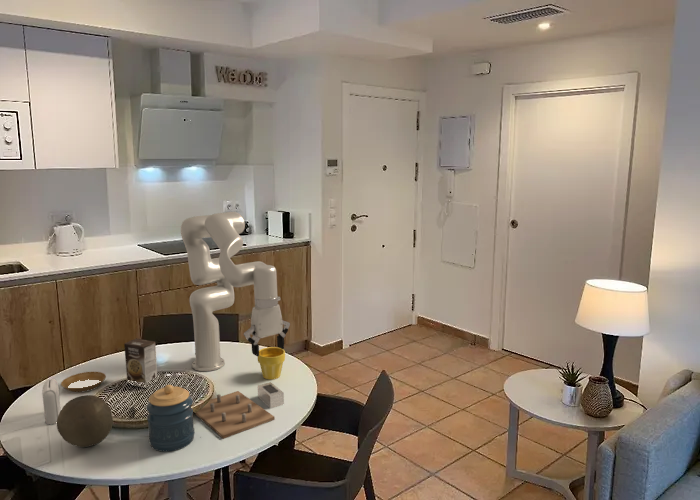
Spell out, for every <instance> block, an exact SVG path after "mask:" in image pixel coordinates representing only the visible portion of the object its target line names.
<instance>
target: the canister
mask: <svg viewBox="0 0 700 500" xmlns="http://www.w3.org/2000/svg"><path fill="white" fill-rule="evenodd" d="M148 402H149V403H148V404H147V406H146V409H147V411H148V412H149V414H148V416H146V420H147V423H148V425H147V426H148V427H147V428H148V442H149V446H150V447H151V448H152V449H153V450H156V451H158V452H173V451H177V450H180V449H183V448H185V447H186V446H187V447H188V445H190V444H191V443H193V440H194V438H195V434H196V433H195V426H194V413H193V409H192V408H191V406H193V402H194V401H193V398H192V397H191V396H190V392H189V391H188V390H187V389H186V388H183V387H181V386H173V385H172V384H166V385H165V386H164V387H161V388H159V389H157V390H155V392H153V393H151V395H150V396H149V397H148Z"/></svg>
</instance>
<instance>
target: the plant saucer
mask: <svg viewBox="0 0 700 500" xmlns="http://www.w3.org/2000/svg"><path fill="white" fill-rule="evenodd" d="M106 378H107V375H106V373H104V372H101V371H83V372H79V373H75V374H72V375H70V376H67V377H65V378H64V379H63V380H62V381H61V383H60V386H61V387H63V388H64V389H65V390H66V391H69V392H71V393H83V392H82V391H85V392H88V391H87V390H89V391H92V390H95V389H97V388H98V387H99V386H100V385H102V384H103V382H104V381H105V379H106ZM88 379H89V380H99V381H101V382H99V383H97V384H95V385H92V386H88V387H83V388H68V386H69V385H70V384H71V383H74V382H77V381H79V380H80V381H85V380H88ZM96 387H97V388H96ZM94 388H95V389H94ZM91 389H92V390H91Z"/></svg>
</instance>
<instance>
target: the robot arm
mask: <svg viewBox="0 0 700 500" xmlns="http://www.w3.org/2000/svg"><path fill="white" fill-rule="evenodd" d="M245 226H246V222H245V219H244V217H243V216H242V215H241V214H240V213H239V212H236V211H228V212H217V213H213V214H208V215H207V214H206V215H195V216H191V217H188V218H186V219H184V220H183V221H182V223H181V225H180V236H181V238H182V241H183V243H184V246H185V250H186V253H187V263H188V269H189V270H188V271H189V276H190V280H191V282H192V284H193V285H196V286H203V285H210V284H214V283H216V285H213V286H208V287H202V288H199V289H196V290H194V291H192V292H191V294H190V296H189V305H190V309H191V314H192V320H193V333H194V334H193V335H194V336H193V337H194V355H195V360H194V361H193V362H192V363H191V367H192V369H193V370H195V371H199V372H212V371H216V370H219V369H221V368H222V367H224V365H225V364H226V362H225V359H224V358H222V357H221V343H220V341H221V340H220V325H219V324H220V323H219V320H218V318H217V317H216V316H215V315H214V314H213V312H215V311H219V310H224V309H227V308H231V306H233V304H234V303H235V291H234V288H242V287H247V286H253V291H254V292H253V293H254V294H253V295H254V306H253V307H252V310H251V318H250V327H249V328H248V329H247V330H246V331H244V333H243V336H244V337H245V340H247V341H248V342H249V343H250V344H251V353H252V354H253V355H254V356H256V357H257V356H259V350H260V345H259V341H260V340H261V339H264V338H268V337H272V336H275V335H277V337H276V342H277V343H276V346H277V347H278V348H281V349H283V350H285V349H284V348H285V337H286V336H287V335H286V334H287V333H288V332H289V329H290V326H291V323H290V322H289V321H285V320H283V316H282V311H281V306H280V304H279V301H281V297H280V295H279V296H278V280H277V279H278V277H277V269H276V267H275V266H274V265H271V264H266V263H265V262H263V261H258V260H257V261H253V262H252V261H251V262H244V263H239V264H235V263H234V262H233V260H232V259H231V258H232V257H233V256H235V255H236V254H237V253H239V252H240V250H242V248H243V245H244V240H243V238H242V236H241V235H240V234H242V233H243V232H244V230H245V228H246V227H245ZM206 238H211V239H212V240H213V242H214V243H215V245H216V246H217V247H218V249H219V250H220V253H219V256H218V257H214V258H212V256H211V250H210V247H209V244H207V242H206V241H205V240H204V239H206ZM251 335H252V337H251Z"/></svg>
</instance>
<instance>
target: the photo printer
mask: <svg viewBox="0 0 700 500" xmlns="http://www.w3.org/2000/svg"><path fill="white" fill-rule="evenodd" d="M41 391H42V393H41V395H42V402H43V403H42V404H43V410H44V411H43V412H44V419H45V423H46V424H47V425H49V424H50V425H54V424H53V423H55V424H57V423H56V422H57V418H58V415H59V413H60V411H61V410H62V408H61V407H62V406H61V400H60V392H59V383H58V381H57V380H56V379H55V378H49V379H47V380H45V382H44V383H43V386H42V390H41Z"/></svg>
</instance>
